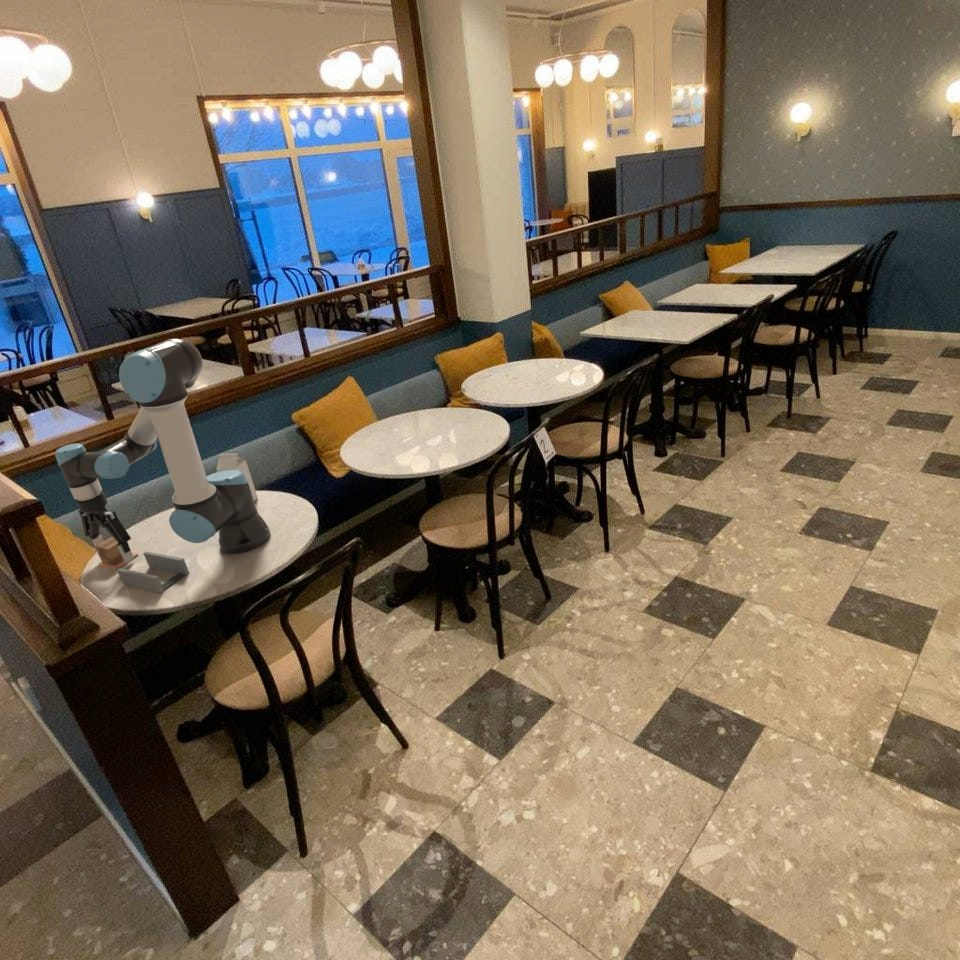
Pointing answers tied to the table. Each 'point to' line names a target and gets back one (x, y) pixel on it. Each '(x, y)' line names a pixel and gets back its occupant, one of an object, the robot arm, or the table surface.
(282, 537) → the table surface
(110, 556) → the block
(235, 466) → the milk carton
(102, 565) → the tile
